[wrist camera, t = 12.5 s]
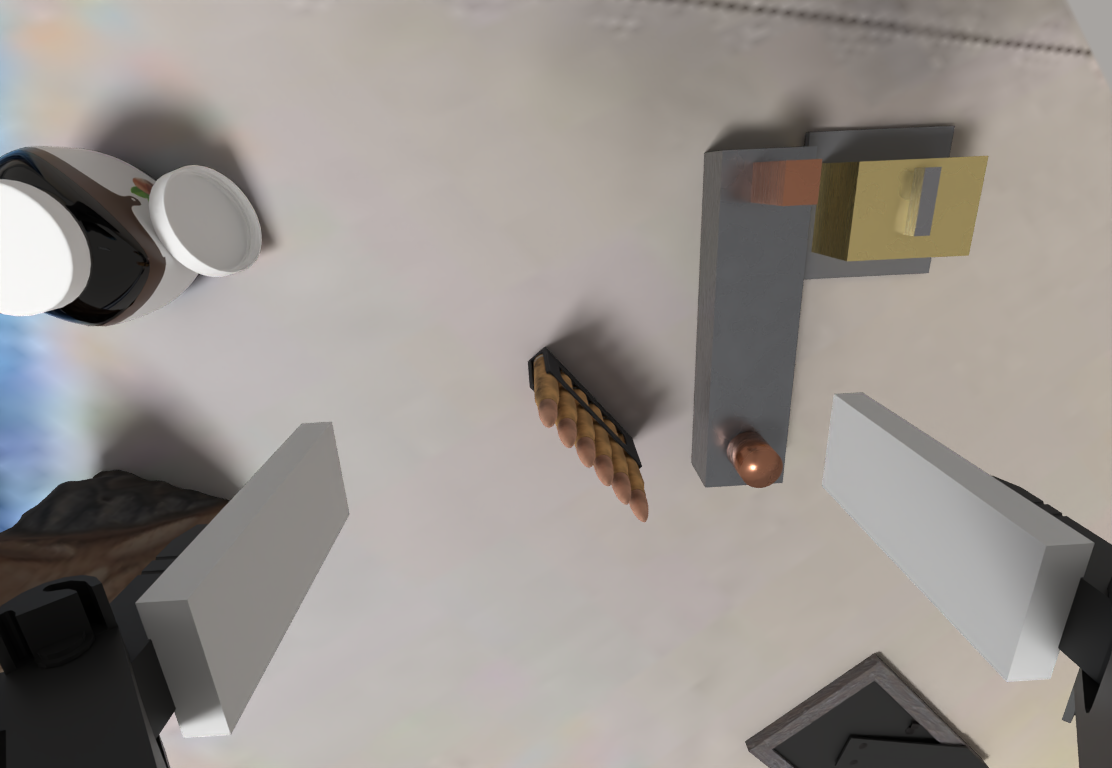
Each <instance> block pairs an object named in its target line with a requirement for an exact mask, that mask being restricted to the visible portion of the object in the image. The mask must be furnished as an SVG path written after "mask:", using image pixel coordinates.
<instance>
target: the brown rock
mask: <svg viewBox="0 0 1112 768" xmlns="http://www.w3.org/2000/svg"><path fill="white" fill-rule="evenodd" d="M228 502H229V501H228V500H225V499H222V498H217V497H213V496H209V495H205V494H203V493H200V492H198V491H194V490H186V489H180V488H177V487H174V486H172V485H170V484H169V483H166V482H163V481H148V480H144V479H141V478H139V477H138V476H136V475H134V474H132V473H129V472H125V471H121V470H115V471H103V472H100V473H98V474H97V475H95V476H94V477H93V479H87V480H82V481H68V482H65V483H62V484H60V485H58V486H57V487H56V488H55V489H54V490H53V491H52V492H51V493H50V494H49V495H48V496H47V497H46V498H45V499H43V500H42V501H41V502H40V503H39V504H38V505H37V506H35V507H33V508H32V509H30V510H28V511H27V512H25V513H24V514H23V515H22V516H21V519H20V520H19V521H18V522H17V523H16V524H15V525H14V526H13V527H12V528H10V529H7V530H5V531H3V532H1V533H0V606H2V605H3V604H5V603H6V602H8V601H9V600H11V599H13V598H14V597H16V596H17V595H19V594H21V593H23V592H25V591H27V590H29V589H32V588H34V587H36V586H38V585H41V584H43V583H46V582H50V581H53V580H56V579H60V578H63V577H69V576H77V575H87V576H94V577H96V578H97V579H98V580H99V581H100V582H101V583H102V585H103V587H104V590H105V593H106V595H107V598H108V601H109V603H111V602H112V601H113V600H114V599H115V598H116V597H117V596H118V595H119V594H120V593H121V592H122V591H123V590H124V589H125V588H126V587H127V585H128V584H129V583H130V582H131V581H132V580H133V579H134V578H135V577H136V576H137V575H141V573H142V572H141V571H142V570H143V569H144V568H145V567H146V566H147V565H148V564H149V563H150V562H151V561H152V560H155V559H156V556H157V555H158V554H159V553H160V552H161V551H162V550H163V549H164V548H165V547H166V546H167V545H168V544H169V543H170V542H171V541H172V540H173V539H175V538H176V537H178V536H180V535H181V534H183V533H184V532H186V531H188V530H189V529H191V528H192V527H194V526H196V525H197V524H209V523H210V522H211V521H212V520H213V519H214V518H215V516H216V515H217V514H218V513H219V512H220V511H221V510H222V509H223V508H224V507H225V506H226V505H227V504H228ZM1 672H4V671H3V669H2V667H1V665H0V673H1Z"/></svg>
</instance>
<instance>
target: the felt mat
mask: <svg viewBox="0 0 1112 768" xmlns="http://www.w3.org/2000/svg"><path fill="white" fill-rule="evenodd" d="M954 127H955V126H938V127H915V128H892V129H870V130H847V131H824V132H808V133H806V139H805V147H810V146H817V154H816V159H822V163H842V162H864V161H886V160H908V159H930V158H949V155H950V150H951V144H952V138H953V133H954ZM815 213H816V205H811V212H810V222H809V232H808V241H807V251H806V260H805V270H804V279H820V278H840V277H860V276H880V275H900V274H920V273H929V268H930V263H931V257H926V258H906V259H886V260H865V261H844V260H840V259H836V258H832V257H829V256H825V255H821V254H817V253H813V252H811V250H812V241H813V232H814V222H815Z"/></svg>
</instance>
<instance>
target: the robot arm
mask: <svg viewBox="0 0 1112 768" xmlns="http://www.w3.org/2000/svg"><path fill="white" fill-rule="evenodd" d="M822 487H823V488H824V489H825V490H826V491H827V492H828V493H829V494H830V495H831V496H832V497H833V498H834V499H835V500H836V501H837V503H838V504H839V505H840V506H841V507H842V508H843V509H844V510H845V511H846V512H847V513H848V514H849V515H850V516H851V517H852V518H853V520H854V521H855V522H856V523H857V524H858V525H859V526H860V527H861V528H862V529H863V530H864V531H865V532H866V533H867V534H868V535H869V536H870V538H871V539H872V540H873V541H874V542H875V543H876V544H877V545H878V546H879V547H880V548H881V549H882V550H883V551H884V552H885V553H886V554H887V556H888V557H889V558H890V559H891V560H892V561H893V562H894V563H895V564H896V565H897V566H898V567H899V568H900V569H901V570H902V571H903V573H904V574H905V575H906V576H907V577H908V578H909V579H910V580H911V581H912V582H913V583H914V584H915V585H916V586H917V587H918V588H919V589H920V591H921V592H922V593H923V594H924V595H925V596H926V597H927V598H928V599H929V600H930V601H931V602H932V603H933V604H934V605H935V606H936V608H937V609H938V610H939V611H940V612H941V613H942V614H943V615H944V616H945V617H946V618H947V619H948V620H949V621H950V622H951V623H952V624H953V626H954V627H955V628H956V629H957V630H958V631H959V632H960V633H961V634H962V635H963V636H964V637H965V638H966V639H967V640H968V641H969V643H970V644H971V645H972V646H973V647H974V648H975V649H976V650H977V651H978V652H979V653H980V654H981V655H982V656H983V657H984V658H985V659H986V661H987V662H988V663H989V664H990V665H991V666H992V667H993V668H994V669H995V670H996V671H997V672H998V673H999V674H1000V675H1001V676H1002V678H1003V679H1004V680H1005V681H1006V682H1012V681H1027V680H1041V679H1050V678H1051V675H1052V672H1053V669H1054V666H1055V663H1056V660H1057V657H1058V654H1059V651H1060V650H1061V651H1062V652H1063V653H1064V654H1065V655H1067V656H1068V657H1069V658H1070V659H1071V660H1072V661H1073V662H1074V663H1076V664H1077V665H1078V666H1079V667H1080V669H1079V672H1078V674H1077V677H1076V680H1075V683H1074V686H1073V689H1072V692H1071V695H1070V698H1069V700H1068V703H1067V706H1066V709H1065V712H1064V715H1063V718H1062V720H1063V721H1066V722H1068V723H1071V721H1072V719H1073V717H1074V715H1076V727H1077V742H1078V756H1079V768H1112V545H1111V544H1110V543H1108V542H1107V541H1105V540H1103V539H1102V538H1100V537H1099V536H1097V535H1096V534H1094V533H1092V532H1091V531H1089V530H1088V529H1086V528H1085V527H1083V526H1081V525H1080V524H1078V523H1077V522H1075V521H1073V520H1072V519H1070V518H1069V517H1067V516H1062V513H1061V512H1059V511H1058V510H1056V509H1054V508H1053V507H1051V506H1050V505H1048V504H1044V503H1043V501H1042V500H1040V499H1039V498H1037V497H1036V496H1034V495H1032V494H1031V493H1029V492H1028V491H1026V490H1024V489H1023V488H1021V487H1019V486H1017V485H1014V484H1012V483H1009V482H1007V481H1004V480H1002V479H999V478H997V477H994V476H991V475H989V474H988V473H986V472H984V471H983V470H981V469H980V468H978V467H977V466H975V465H974V464H972V463H971V462H969V461H968V460H966V459H964V458H963V457H961V456H960V455H958V454H957V453H955V452H954V451H952V450H951V449H949V448H947V447H946V446H944V445H943V444H941V443H940V442H938V441H937V440H935V439H934V438H932V437H931V436H929V435H927V434H926V433H924V432H923V431H921V430H920V429H918V428H917V427H915V426H914V425H912V424H910V423H909V422H907V421H906V420H904V419H903V418H901V417H900V416H898V415H897V414H895V413H894V412H892V411H890V410H889V409H887V408H886V407H884V406H883V405H881V404H880V403H878V402H877V401H875V400H873V399H872V398H870V397H869V396H867V395H866V394H864V393H863V392H861V393H843V394H834V397H833V405H832V412H831V420H830V428H829V435H828V443H827V451H826V458H825V466H824V474H823V481H822ZM348 516H349V509H348V504H347V498H346V493H345V488H344V483H343V478H342V472H341V467H340V462H339V457H338V451H337V446H336V441H335V436H334V430H333V425H332V422H319V423H302V424H301V425H300V426H299V427H298V428H297V429H296V430H295V431H294V432H293V434H292V435H291V436H290V437H289V438H288V439H287V440H286V441H285V442H284V443H283V444H282V445H281V446H280V448H279V449H278V450H277V451H276V452H275V453H274V454H273V455H272V456H271V457H270V458H269V459H268V460H267V462H266V463H265V464H264V465H263V466H262V467H261V468H260V469H259V470H258V471H257V472H256V473H255V474H254V476H253V477H252V478H251V479H250V480H249V481H248V482H247V483H246V484H245V485H244V486H243V487H242V488H241V490H240V491H239V492H238V493H237V494H236V495H235V496H234V497H233V498H232V499H231V500H230V501H229V502H228V504H227V505H226V506H225V507H224V508H223V509H222V510H221V511H220V512H219V513H218V514H217V515H216V516H215V518H214V519H213V520H212V521H211V522H210V523H209V524H197V525H196V526H194V527H192V528H191V529H189V530H188V531H186V532H184V533H183V534H181V535H180V536H178V537H176V538H175V539H173V540H172V541H171V542H170V543H169V544H168V545H167V546H166V547H165V548H164V549H163V550H162V551H161V552H160V553H159V554H158V555H157V556H156V559H155V560H152V561H151V562H150V563H149V564H148V565H147V566H146V567H145V568H144V569H143V570H142V571H141V572H142V573H141V575H137V576H136V577H135V578H134V579H133V580H132V581H131V582H130V583H129V584H128V585H127V587H126V588H125V589H124V590H123V591H122V592H121V593H120V594H119V595H118V596H117V597H116V598H115V599H114V600H113V601H112V602H111V603H109V601H108V598H107V595H106V593H105V590H104V587H103V585H102V583H101V582H100V581H99V580H98V579H97V578H96V577H94V576H87V575H77V576H69V577H63V578H60V579H56V580H53V581H50V582H46V583H43V584H41V585H38V586H36V587H34V588H32V589H29V590H27V591H25V592H23V593H21V594H19V595H17V596H16V597H14V598H13V599H11V600H9V601H8V602H6V603H5V604H3V605H2V606H0V665H1V667H2V669H3V671H4V672H1V673H0V768H170V765H169V762H168V759H167V755H166V752H165V748H164V746H163V743H162V741H161V738H160V735H159V734H160V732H161V731H162V729H163V728H164V726H165V725H166V723H167V722H168V720H169V719H170V717H171V716H172V714H173V713H174V712H175V715H176V718H177V721H178V723H179V726H180V729H181V732H182V735H183V737H184V738H192V737H207V736H222V735H231V733H232V731H233V730H234V728H235V726H236V724H237V722H238V720H239V718H240V717H241V715H242V713H243V711H244V709H245V707H246V705H247V704H248V702H249V700H250V698H251V696H252V694H253V692H254V691H255V689H256V687H257V685H258V683H259V681H260V679H261V678H262V676H263V674H264V672H265V670H266V668H267V666H268V665H269V663H270V661H271V659H272V657H273V655H274V653H275V652H276V650H277V648H278V646H279V644H280V642H281V640H282V639H283V637H284V635H285V633H286V631H287V629H288V627H289V626H290V624H291V622H292V620H293V618H294V616H295V614H296V613H297V611H298V609H299V607H300V605H301V603H302V601H303V599H304V598H305V596H306V594H307V592H308V590H309V588H310V586H311V585H312V583H313V581H314V579H315V577H316V575H317V573H318V572H319V570H320V568H321V566H322V564H323V562H324V560H325V559H326V557H327V555H328V553H329V551H330V549H331V547H332V546H333V544H334V542H335V540H336V538H337V536H338V534H339V533H340V531H341V529H342V527H343V525H344V523H345V521H346V520H347V518H348Z"/></svg>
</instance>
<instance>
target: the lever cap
mask: <svg viewBox="0 0 1112 768" xmlns="http://www.w3.org/2000/svg"><path fill="white" fill-rule="evenodd" d="M987 161H988V156H974V157H952V158H930V159H908V160H886V161H864V162H842V163H822V168H821V177H820V186H819V196H818V204H817V205H816V213H815V222H814V232H813V241H812V250H811V252H813V253H817V254H821V255H825V256H829V257H832V258H836V259H840V260H844V261H865V260H886V259H906V258H926V257H946V256H966V255H969V251H970V246H971V241H972V236H973V231H974V226H975V221H976V216H977V211H978V206H979V201H980V196H981V191H982V186H983V181H984V176H985V171H986V166H987Z"/></svg>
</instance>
